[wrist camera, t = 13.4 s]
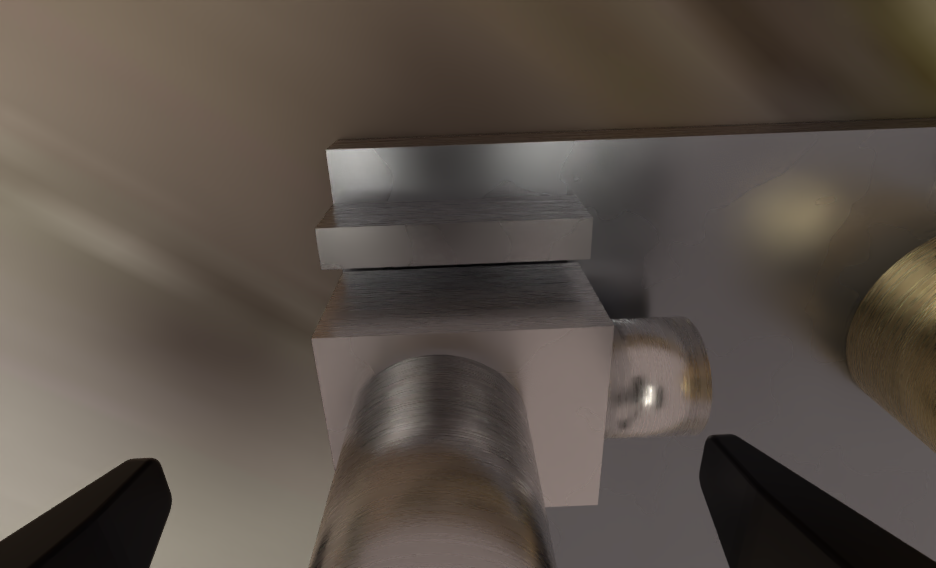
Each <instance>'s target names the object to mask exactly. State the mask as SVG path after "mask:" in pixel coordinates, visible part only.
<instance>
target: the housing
mask: <svg viewBox="0 0 936 568" xmlns="http://www.w3.org/2000/svg"><path fill="white" fill-rule="evenodd" d="M846 356H847V363H848V367H849V371H850V373H851V375H852V377H853V380H854V381H855V382H856V384H857V385H858V387H859V388H860V389H861V390H862V391H863V392H864V393H865V394H867V395H868V396H869V397H870V398H871V399H872V400H874V401H875V402H876V403H877V404H878V405H879V406H881V407H882V408H883V409H884V410H885V411H886V412H888V413H889V414H890V415H891V416H892V417H894V418H895V419H896V420H897V421H898V422H899V423H901V424H902V425H903V426H904V427H905V428H906V429H908V430H909V431H910V432H911V433H912V434H913V435H915V436H916V437H917V438H918V439H919V440H921V441H922V442H923V443H924V444H925V445H926V446H928V447H929V448H930V449H931V450H932V451H933V452H935V453H936V237H935V238H933V239H931V240H929V241H927V242H926V243H924V244H922V245H920V246H918V247H917V248H915V249H914V250H912V251H911V252H909V253H908V254H906V255H905V256H904V257H902V258H901V259H900V260H899V261H897V262H896V263H895V264H894V265H892V266H891V267H890V268H889V269H888V270H887V271H886V272H885V273H884V274H883V275H882V276H881V277H880V278H879V279H878V280H877V282H876V283H875V284H874V285H873V286H872V288H871V289H870V290H869V291H868V293H867V294H866V296H865V297H864V299H863V300H862V302H861V303H860V305H859V307H858V309H857V311H856V313H855V315H854V317H853V320H852V323H851V325H850V328H849V333H848V337H847V345H846Z"/></svg>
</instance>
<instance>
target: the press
mask: <svg viewBox="0 0 936 568" xmlns="http://www.w3.org/2000/svg"><path fill="white" fill-rule="evenodd" d="M326 156H327V163H328V170H329V177H330V184H331V191H332V198H333V205H332V206H331V208H330V209H329V210H328V212H327V213H326V214H325V216H324V217H323V218H322V220H321V221H320V222H319V224H318V225H317V226H316V228H315V232H316V239H317V245H318V251H319V257H320V264H321V270H328V269H343V272H351V271H376V270H402V269H427V268H453V267H478V266H503V265H529V264H554V263H579V265H580V267H581V268H582V270H583V272H584V274H585V275H586V277H587V279H588V281H589V282H590V284H591V286H592V288H593V290H594V291H595V293H596V295H597V297H598V298H599V300H600V302H601V304H602V305H603V307H604V309H605V311H606V312H607V314H608V316H609V318H610V319H624V318H649V317H674V316H683V317H686V318H688V319H689V320H690V321H691V322H692V323H693V324H694V325H695V326H696V328H697V330H698V331H699V333H700V335H701V337H702V339H703V342H704V345H705V348H706V351H707V354H708V359H709V363H710V369H711V377H712V405H711V412H710V416H709V420H708V422H707V425H706V427H705V428H704V430H703V431H702V432H701V433H700V434H698V435H692V436H668V437H645V438H621V439H604V443H603V454H602V465H601V475H600V486H599V497H598V505H584V506H561V507H545V509H546V514H547V519H548V524H549V529H550V535H551V540H552V545H553V550H554V555H555V560H556V565H557V568H729V565H728V563H727V560H726V557H725V554H724V551H723V549H722V546H721V543H720V540H719V537H718V534H717V532H716V529H715V526H714V523H713V520H712V518H711V515H710V512H709V509H708V506H707V504H706V501H705V498H704V495H703V492H702V490H701V486H700V482H699V470H700V465H701V460H702V455H703V450H704V445H705V441H706V439H707V437H708V436H710V435H716V434H733V435H736V436H738V437H740V438H741V439H743V440H744V441H746V442H748V443H749V444H751V445H752V446H754V447H755V448H757V449H759V450H760V451H762V452H763V453H765V454H766V455H768V456H770V457H771V458H773V459H774V460H776V461H777V462H779V463H781V464H782V465H784V466H785V467H787V468H789V469H790V470H792V471H793V472H795V473H796V474H798V475H800V476H801V477H803V478H804V479H806V480H807V481H809V482H811V483H812V484H814V485H815V486H817V487H819V488H820V489H822V490H823V491H825V492H826V493H828V494H830V495H831V496H833V497H834V498H836V499H837V500H839V501H841V502H842V503H844V504H845V505H847V506H848V507H850V508H852V509H853V510H855V511H856V512H858V513H860V514H861V515H863V516H864V517H866V518H867V519H869V520H871V521H872V522H874V523H875V524H877V525H878V526H880V527H882V528H883V529H885V530H886V531H888V532H890V533H891V534H893V535H894V536H896V537H897V538H899V539H901V540H902V541H904V542H905V543H907V544H908V545H910V546H912V547H913V548H915V549H916V550H918V551H919V552H921V553H923V554H924V555H926V556H927V557H929V558H931V559H932V560H934V561H935V562H936V453H935V452H933V451H932V450H931V449H930V448H929V447H928V446H926V445H925V444H924V443H923V442H922V441H921V440H919V439H918V438H917V437H916V436H915V435H913V434H912V433H911V432H910V431H909V430H908V429H906V428H905V427H904V426H903V425H902V424H901V423H899V422H898V421H897V420H896V419H895V418H894V417H892V416H891V415H890V414H889V413H888V412H886V411H885V410H884V409H883V408H882V407H881V406H879V405H878V404H877V403H876V402H875V401H874V400H872V399H871V398H870V397H869V396H868V395H867V394H865V393H864V392H863V391H862V390H861V389H860V388H859V387H858V385H857V384H856V382H855V381H854V380H853V377H852V375H851V373H850V371H849V367H848V363H847V356H846V345H847V337H848V333H849V328H850V325H851V323H852V320H853V317H854V315H855V313H856V311H857V309H858V307H859V305H860V303H861V302H862V300H863V299H864V297H865V296H866V294H867V293H868V291H869V290H870V289H871V288H872V286H873V285H874V284H875V283H876V282H877V280H878V279H879V278H880V277H881V276H882V275H883V274H884V273H885V272H886V271H887V270H888V269H889V268H890V267H891V266H892V265H894V264H895V263H896V262H897V261H899V260H900V259H901V258H902V257H904V256H905V255H906V254H908V253H909V252H911V251H912V250H914V249H915V248H917V247H918V246H920V245H922V244H924V243H926V242H927V241H929V240H931V239H933V238H935V237H936V118H913V119H886V120H859V121H833V122H806V123H779V124H752V125H725V126H698V127H671V128H644V129H617V130H591V131H564V132H537V133H510V134H483V135H456V136H429V137H402V138H376V139H349V140H337V141H336V142H335V143H333V144H332V145H331V146H330V147H329V148H327V149H326Z"/></svg>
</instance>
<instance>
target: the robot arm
mask: <svg viewBox="0 0 936 568" xmlns="http://www.w3.org/2000/svg"><path fill="white" fill-rule="evenodd" d="M699 482H700V486H701V490H702V492H703V495H704V498H705V501H706V504H707V506H708V509H709V512H710V515H711V518H712V520H713V523H714V526H715V529H716V532H717V534H718V537H719V540H720V543H721V546H722V549H723V551H724V554H725V557H726V560H727V563H728V565H729V568H936V562H935V561H934V560H932V559H931V558H929V557H927V556H926V555H924V554H923V553H921V552H919V551H918V550H916V549H915V548H913V547H912V546H910V545H908V544H907V543H905V542H904V541H902V540H901V539H899V538H897V537H896V536H894V535H893V534H891V533H890V532H888V531H886V530H885V529H883V528H882V527H880V526H878V525H877V524H875V523H874V522H872V521H871V520H869V519H867V518H866V517H864V516H863V515H861V514H860V513H858V512H856V511H855V510H853V509H852V508H850V507H848V506H847V505H845V504H844V503H842V502H841V501H839V500H837V499H836V498H834V497H833V496H831V495H830V494H828V493H826V492H825V491H823V490H822V489H820V488H819V487H817V486H815V485H814V484H812V483H811V482H809V481H807V480H806V479H804V478H803V477H801V476H800V475H798V474H796V473H795V472H793V471H792V470H790V469H789V468H787V467H785V466H784V465H782V464H781V463H779V462H777V461H776V460H774V459H773V458H771V457H770V456H768V455H766V454H765V453H763V452H762V451H760V450H759V449H757V448H755V447H754V446H752V445H751V444H749V443H748V442H746V441H744V440H743V439H741V438H740V437H738V436H736V435H733V434H716V435H710V436H708V437H707V439H706V441H705V445H704V450H703V455H702V460H701V465H700V470H699ZM171 505H172V496H171V492H170V489H169V486H168V484H167V481H166V478H165V475H164V472H163V469H162V467H161V464H160V462H159V461H158V460H157V459H154V458H136V459H130V460H127V461H125V462H124V463H122V464H120V465H119V466H117V467H116V468H114V469H113V470H111V471H110V472H108V473H106V474H105V475H103V476H102V477H100V478H99V479H97V480H95V481H94V482H92V483H91V484H89V485H88V486H86V487H85V488H83V489H81V490H80V491H78V492H77V493H75V494H74V495H72V496H70V497H69V498H67V499H66V500H64V501H63V502H61V503H59V504H58V505H56V506H55V507H53V508H52V509H50V510H49V511H47V512H45V513H44V514H42V515H41V516H39V517H38V518H36V519H34V520H33V521H31V522H30V523H28V524H27V525H25V526H24V527H22V528H20V529H19V530H17V531H16V532H14V533H13V534H11V535H9V536H8V537H6V538H5V539H3V540H2V541H0V568H149V567H150V565H151V562H152V559H153V556H154V554H155V551H156V548H157V545H158V543H159V540H160V537H161V535H162V532H163V529H164V526H165V524H166V521H167V518H168V515H169V513H170V509H171Z"/></svg>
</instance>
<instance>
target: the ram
mask: <svg viewBox="0 0 936 568" xmlns="http://www.w3.org/2000/svg"><path fill="white" fill-rule="evenodd" d="M311 340H312V346H313V352H314V357H315V363H316V368H317V374H318V380H319V385H320V391H321V396H322V402H323V408H324V413H325V419H326V424H327V430H328V436H329V441H330V447H331V452H332V458H333V464H334V469H335V474H334V477H333V481H332V485H331V488H330V492H329V495H328V499H327V503H326V506H325V510H324V514H323V517H322V521H321V524H320V528H319V532H318V535H317V539H316V542H315V546H314V550H313V553H312V557H311V560H310V564H309V568H557V565H556V560H555V555H554V550H553V545H552V540H551V535H550V529H549V524H548V519H547V514H546V509H545V507H561V506H584V505H598V497H599V486H600V475H601V465H602V454H603V443H604V439H621V438H645V437H668V436H692V435H698V434H700V433H701V432H702V431H703V430H704V428H705V427H706V425H707V422H708V420H709V416H710V412H711V405H712V377H711V369H710V363H709V359H708V354H707V351H706V348H705V345H704V342H703V339H702V337H701V335H700V333H699V331H698V330H697V328H696V326H695V325H694V324H693V323H692V322H691V321H690V320H689V319H688V318H686V317H683V316H674V317H649V318H624V319H610V318H609V316H608V314H607V312H606V311H605V309H604V307H603V305H602V304H601V302H600V300H599V298H598V297H597V295H596V293H595V291H594V290H593V288H592V286H591V284H590V282H589V281H588V279H587V277H586V275H585V274H584V272H583V270H582V268H581V267H580V265H579V263H554V264H529V265H503V266H478V267H453V268H427V269H402V270H376V271H351V272H343V274H342V276H341V278H340V280H339V282H338V284H337V286H336V288H335V290H334V292H333V294H332V297H331V299H330V301H329V303H328V305H327V307H326V309H325V311H324V313H323V315H322V317H321V319H320V321H319V324H318V326H317V328H316V330H315V332H314V334H313V336H312V338H311Z"/></svg>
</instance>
